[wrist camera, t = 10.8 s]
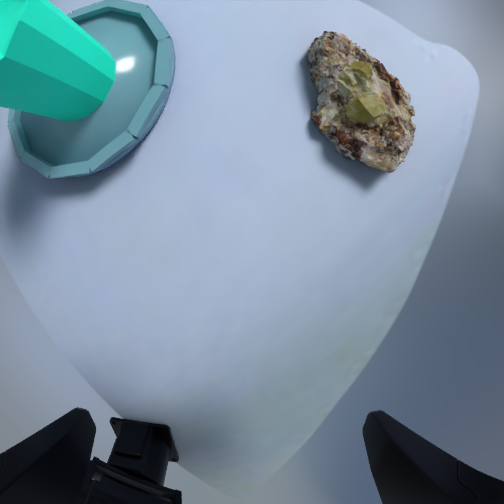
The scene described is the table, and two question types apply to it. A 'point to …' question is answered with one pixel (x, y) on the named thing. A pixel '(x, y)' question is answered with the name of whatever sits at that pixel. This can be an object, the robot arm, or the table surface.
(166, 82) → the dish
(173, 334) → the table surface
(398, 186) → the table surface
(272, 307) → the table surface
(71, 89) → the candle
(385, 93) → the mineral rock
